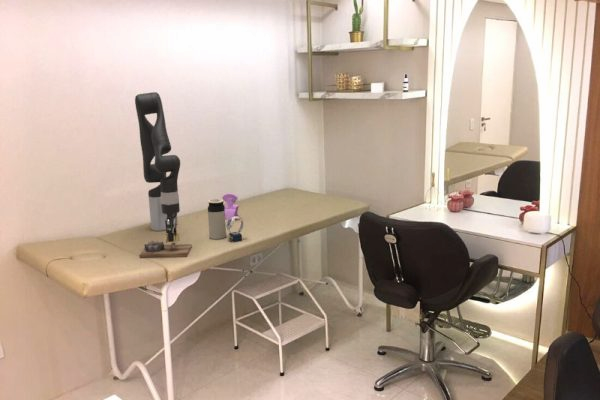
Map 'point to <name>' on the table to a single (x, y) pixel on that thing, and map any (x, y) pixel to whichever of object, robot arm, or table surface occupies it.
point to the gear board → (165, 250)
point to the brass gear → (176, 238)
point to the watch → (234, 235)
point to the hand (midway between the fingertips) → (172, 239)
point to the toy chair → (230, 205)
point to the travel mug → (216, 219)
